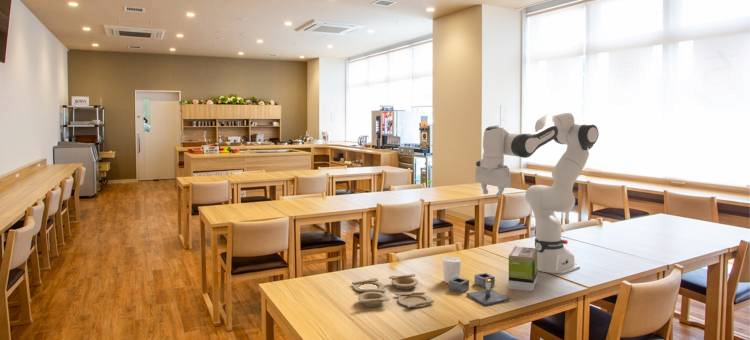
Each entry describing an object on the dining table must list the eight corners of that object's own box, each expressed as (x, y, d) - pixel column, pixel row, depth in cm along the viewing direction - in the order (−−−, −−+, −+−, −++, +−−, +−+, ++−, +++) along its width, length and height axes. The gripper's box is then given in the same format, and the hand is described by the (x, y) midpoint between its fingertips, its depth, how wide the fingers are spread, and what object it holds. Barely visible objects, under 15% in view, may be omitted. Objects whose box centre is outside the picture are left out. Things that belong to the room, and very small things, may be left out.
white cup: (460, 284, 210) (460, 262, 208) (442, 283, 211) (442, 261, 210) (461, 278, 217) (461, 257, 216) (443, 277, 219) (443, 256, 218)
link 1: (456, 286, 208) (456, 277, 208) (468, 289, 204) (469, 280, 204) (448, 290, 204) (449, 280, 203) (461, 293, 200) (461, 283, 199)
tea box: (514, 277, 218) (515, 245, 216) (537, 280, 213) (538, 247, 212) (507, 288, 204) (508, 254, 203) (532, 292, 200) (533, 257, 198)
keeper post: (490, 290, 202) (491, 273, 201) (509, 300, 191) (510, 282, 190) (466, 295, 197) (466, 277, 196) (484, 306, 186) (485, 286, 185)
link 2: (485, 281, 213) (485, 272, 213) (494, 285, 208) (494, 276, 207) (474, 283, 211) (474, 274, 210) (482, 288, 205) (483, 279, 205)
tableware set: (437, 309, 185) (437, 299, 184) (360, 315, 180) (360, 305, 180) (414, 279, 219) (414, 270, 219) (350, 283, 215) (349, 274, 214)
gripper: (515, 165, 201) (514, 198, 202) (484, 161, 219) (483, 191, 221) (502, 166, 198) (501, 199, 200) (473, 162, 217) (472, 192, 218)
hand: (492, 195), depth 210 cm, fingers open, 8 cm apart
